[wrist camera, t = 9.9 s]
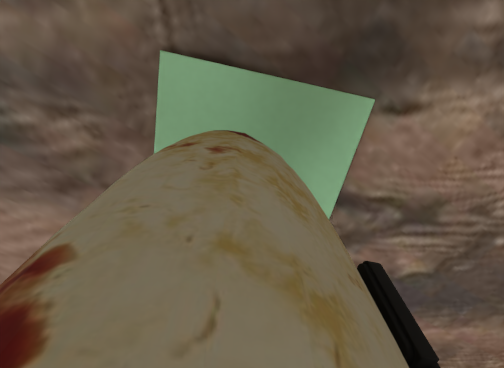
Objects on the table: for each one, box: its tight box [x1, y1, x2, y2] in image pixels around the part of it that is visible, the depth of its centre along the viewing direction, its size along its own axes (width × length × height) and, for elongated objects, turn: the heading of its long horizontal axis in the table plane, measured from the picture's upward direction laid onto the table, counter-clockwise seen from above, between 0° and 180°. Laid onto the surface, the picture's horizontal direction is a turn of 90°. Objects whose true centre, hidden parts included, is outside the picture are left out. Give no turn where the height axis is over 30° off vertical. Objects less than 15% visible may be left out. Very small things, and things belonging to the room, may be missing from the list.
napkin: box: [154, 50, 375, 219], centre depth 22 cm, size 16×14×1 cm
